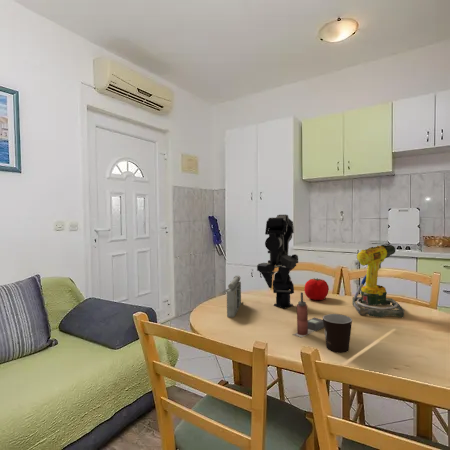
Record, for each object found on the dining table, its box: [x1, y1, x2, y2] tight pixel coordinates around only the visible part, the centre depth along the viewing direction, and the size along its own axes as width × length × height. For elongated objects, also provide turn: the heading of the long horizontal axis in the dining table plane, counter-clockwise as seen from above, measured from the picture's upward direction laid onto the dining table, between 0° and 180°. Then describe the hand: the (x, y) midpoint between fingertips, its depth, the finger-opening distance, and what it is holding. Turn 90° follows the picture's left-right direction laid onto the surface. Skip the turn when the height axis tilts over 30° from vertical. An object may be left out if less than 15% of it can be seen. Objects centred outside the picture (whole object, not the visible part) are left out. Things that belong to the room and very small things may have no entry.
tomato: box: [303, 278, 330, 301], centre depth 154 cm, size 12×12×10 cm
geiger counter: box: [221, 274, 242, 318], centre depth 143 cm, size 14×6×25 cm
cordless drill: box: [351, 244, 405, 318], centre depth 135 cm, size 18×19×28 cm
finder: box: [308, 317, 324, 332], centre depth 115 cm, size 6×4×3 cm
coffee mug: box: [322, 313, 353, 354], centre depth 99 cm, size 12×9×10 cm
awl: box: [296, 292, 309, 336], centre depth 110 cm, size 4×4×14 cm
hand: (277, 285), depth 129 cm, fingers open, 9 cm apart
